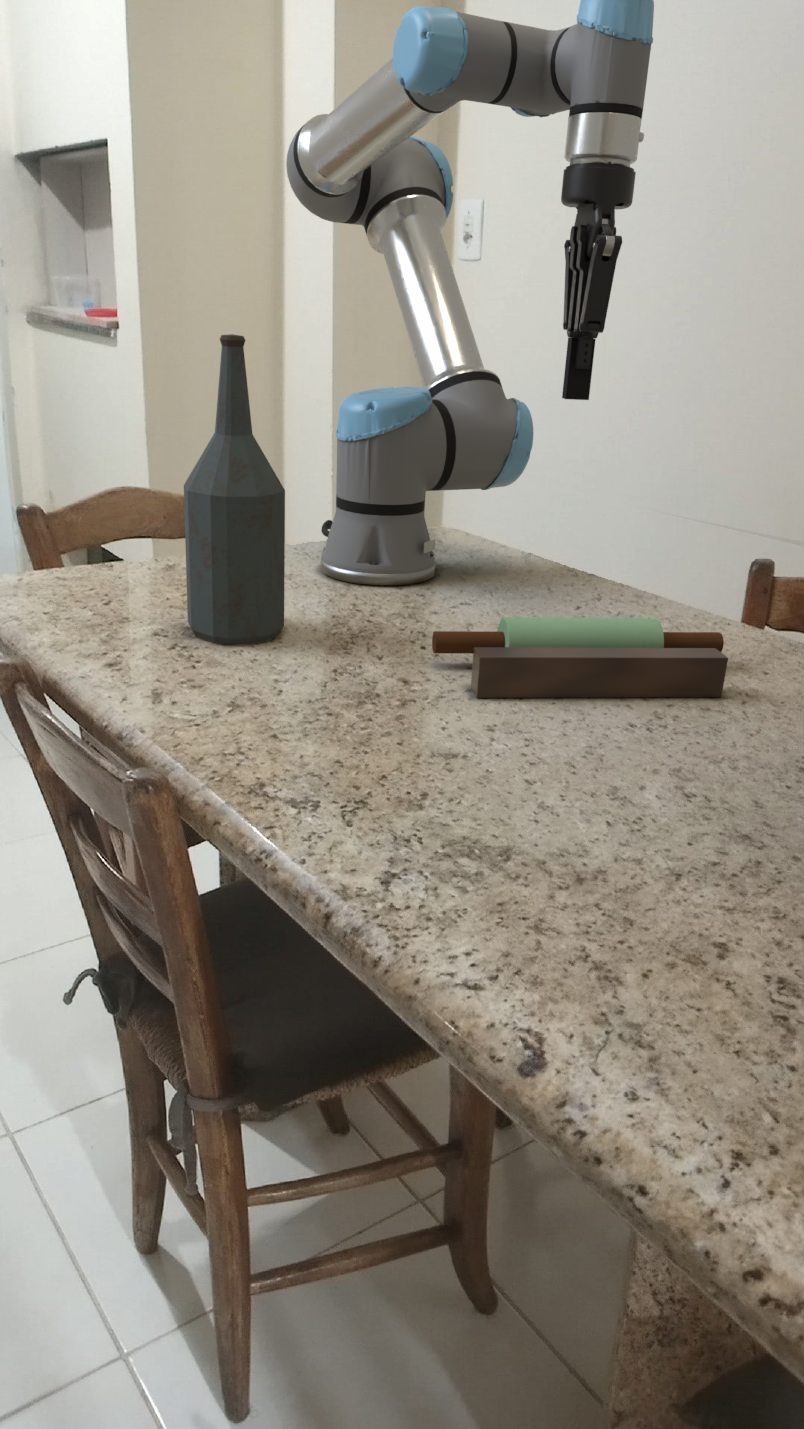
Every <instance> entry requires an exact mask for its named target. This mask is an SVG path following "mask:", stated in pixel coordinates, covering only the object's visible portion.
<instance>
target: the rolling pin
mask: <svg viewBox="0 0 804 1429" xmlns="http://www.w3.org/2000/svg"><path fill="white" fill-rule="evenodd" d="M431 640H432V641H431V648H432V653H433V654H473V651H474V647H526V648H716V649H717V650H718V651H720V652H721V653H722V652H723V649H724V644H725V643H724V642H725V641H724V640H725V639H724V636H723V634H722V633H721V632H719V631H717V632H715V631H711V632H710V631H705V632H704V631H690V632H689V631H664V628H663V626H662V623H661V622H660V620H659V619H658V618H652V617H651V618H650V617H649V618H647V617H645V618H643V617H641V618H639V617H637V618H636V617H634V618H633V617H632V618H631V617H502V618H500V621H499V623H498V628H497V631H490V630H489V631H486V630H485V631H483V630H482V631H478V630H477V631H474V630H473V631H471V630H470V631H465V630H464V631H463V630H461V631H460V630H458V631H457V630H455V631H453V630H452V631H451V630H449V631H448V630H447V631H445V630H444V631H442V630H439V631H438V630H437V631H436V630H434V631H433V632H432V636H431Z"/></svg>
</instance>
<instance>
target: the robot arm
mask: <svg viewBox="0 0 804 1429" xmlns="http://www.w3.org/2000/svg"><path fill="white" fill-rule="evenodd" d="M654 14H655V1H654V0H580V2H579V8H578V13H577V15H576V22H577V23H575V24H573V25H571V26H569V27H564V28H561V29H557V30H555V29H553V30H552V29H551V30H550V29H546V28H545V29H544V28H540V27H536V26H530V25H526V24H519V23H514V22H509V21H503V20H498V19H493V18H489V17H484V16H480V15H474V14H470V13H465V12H460V11H456V10H454V9H452V8H450V7H442V6H439V7H430V6H423V5H422V6H421V5H417V6H415V7H412V8H410V9H409V10H408V11H407V12H406V13H405V14H404V16H403V17H402V19H401V22H400V27H398V28H397V30H396V33H395V35H394V36H395V37H394V42H393V48H392V57H391V58H390V59H388V61H387V62H386V63H385V64H383V65H382V66H381V67H380V68H379V69H378V70H377V71H376V72H375V73H373V74H372V75H371V76H370V77H369V78H368V79H367V80H365V81H364V82H363V83H362V84H361V85H360V86H359V87H358V88H356V89H355V90H354V91H353V92H352V93H351V94H350V95H349V96H347V97H346V98H345V99H344V100H343V101H342V102H341V103H340V104H339V105H338V106H336V107H335V108H334V109H333V110H332V111H331V112H329V113H321V114H318V115H315V116H313V117H311V118H310V119H309V120H308V121H306V123H304V124H303V125H302V126H301V127H300V128H299V129H298V130H297V132H296V133H295V134H294V136H293V138H292V139H291V141H290V143H289V146H288V150H287V153H286V174H287V179H288V182H289V185H290V188H291V190H292V192H293V193H294V196H295V197H296V199H297V200H298V201H299V203H300V204H301V205H302V206H303V207H304V208H305V209H307V211H309V212H310V213H311V214H313V215H314V216H316V217H318V218H319V219H322V220H324V221H329V222H331V223H337V224H348V225H356V226H362V227H363V229H364V231H365V234H366V238H367V241H368V244H369V245H370V247H371V248H372V249H373V250H374V251H375V252H377V253H378V254H381V255H383V257H384V260H385V264H386V267H387V270H388V274H389V277H390V280H391V284H392V287H393V291H394V294H395V297H396V300H397V304H398V307H399V310H400V313H401V317H402V320H403V323H404V324H403V325H404V326H405V331H406V333H407V338H408V340H409V342H410V347H411V350H412V353H413V356H414V359H415V363H416V366H417V370H418V373H419V377H420V379H421V383H422V386H423V387H416V386H401V387H382V388H374V389H368V390H361V391H358V392H354V393H352V394H349V395H348V396H346V397H345V398H344V399H343V400H342V401H341V403H340V406H339V409H338V419H337V426H336V427H337V428H336V431H335V436H336V483H335V484H336V485H335V488H336V490H335V491H336V495H335V513H334V517H333V519H332V520H331V519H328V520H325V521H324V522H323V523H322V526H321V534H322V535H323V536H324V537H326V538H327V539H326V542H325V546H324V547H323V549H322V552H321V556H320V571H321V572H322V573H323V574H325V575H326V576H328V577H330V578H333V579H335V580H339V581H343V582H347V583H353V584H360V585H368V586H369V585H371V586H401V585H403V586H404V585H412V584H418V583H422V582H425V581H428V580H430V579H432V578H433V577H434V576H435V574H436V557H435V554H434V552H433V551H435V549H436V538H434V539H430V534H429V530H428V525H427V522H426V517H425V511H426V510H425V509H426V494H427V492H435V491H439V492H440V491H460V490H462V491H463V490H481V491H488V490H490V489H495V488H504V487H508V486H511V485H512V484H513V483H515V482H516V481H517V480H518V479H519V478H520V477H521V476H522V474H523V473H524V471H525V469H526V467H527V465H528V462H529V460H530V457H531V452H532V449H533V443H534V421H533V416H532V414H531V411H530V409H529V408H528V406H527V404H525V402H523V401H520V400H519V399H517V398H515V397H511V398H507V396H506V394H505V390H504V389H503V385H502V382H501V379H500V377H499V375H497V374H496V372H493V371H491V370H489V369H486V368H485V366H484V363H483V360H482V357H481V354H480V350H479V347H478V344H477V341H476V338H475V335H474V332H473V329H472V325H471V322H470V319H469V316H468V313H467V310H466V306H465V303H464V300H463V297H462V294H461V291H460V288H459V285H458V282H457V278H456V276H455V273H454V272H455V271H454V269H453V266H452V263H451V259H450V257H449V253H448V249H447V247H446V244H445V241H444V238H443V234H442V232H443V230H444V229H445V227H446V224H447V219H448V218H449V215H450V213H451V210H452V206H453V202H454V192H453V191H452V187H453V186H454V177H453V174H452V169H451V166H450V163H449V160H448V158H447V156H446V155H445V153H444V152H443V151H442V150H441V148H440V147H438V146H437V145H436V144H435V143H433V142H430V141H428V140H422V139H419V138H417V137H414V136H413V135H415V134H416V133H417V132H418V131H420V130H421V129H423V128H424V127H426V126H427V125H428V124H430V123H431V122H432V121H434V120H435V119H436V118H438V117H439V116H440V115H442V114H443V113H445V112H447V110H449V109H450V108H452V107H454V106H455V105H456V104H458V103H459V102H461V101H468V102H475V103H481V104H489V105H495V106H501V107H506V108H507V107H508V108H510V109H511V110H512V111H513V112H515V114H517V115H519V116H522V117H525V118H532V117H533V118H534V117H539V118H546V117H549V116H551V115H555V114H558V113H562V112H566V111H569V112H568V118H567V119H568V120H567V128H566V138H565V147H564V148H565V149H564V159H565V161H567V162H568V163H569V165H568V166H566V167H565V169H564V170H563V175H562V186H561V196H560V200H561V204H562V206H565V207H568V208H575V209H576V212H577V213H576V215H575V221H574V224H573V225H572V226H571V229H570V234H569V239H566V240H565V242H564V245H563V247H564V260H565V267H564V268H565V269H564V270H565V271H564V294H563V295H564V297H563V321H562V328H563V330H564V331H566V335H567V344H566V346H567V348H566V355H565V364H564V365H565V366H564V376H563V384H562V385H563V386H562V396H561V398H562V399H564V400H575V401H577V400H578V401H589V400H590V392H591V382H592V374H593V365H594V356H595V348H596V340H597V338H598V336H599V334H600V333H601V334H602V333H603V332H604V330H605V325H606V320H607V315H608V314H607V313H608V310H609V309H608V308H609V304H610V298H611V292H612V287H613V282H614V276H615V272H616V266H617V260H618V257H619V255H620V251H621V247H622V244H623V237H622V235H617V227H616V226H615V225H616V215H615V214H616V210H624V209H628V208H630V207H631V206H632V204H633V201H634V200H633V199H634V191H635V184H636V175H637V174H636V173H637V172H636V171H635V168H633V167H631V165H632V164H634V163H635V162H636V161H637V160H638V152H639V145H640V143H642V142H643V141H644V138H645V134H644V132H641V127H642V120H643V119H642V118H643V111H644V104H645V97H646V90H647V83H648V82H647V81H648V74H649V66H650V59H651V58H650V57H651V52H652V51H651V49H652V44H653V43H654V37H653V29H654V26H653V25H654Z"/></svg>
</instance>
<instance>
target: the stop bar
mask: <svg viewBox="0 0 804 1429" xmlns="http://www.w3.org/2000/svg"><path fill="white" fill-rule="evenodd" d="M728 662H729V657H727V656H726V655H725V654H724V653H722V651H721V652H720V651H718V650H717V649H716V648H526V647H474V651H473V653H472V665H471V679H470V689H471V690H472V692H473V693H474V696H475V697H476V699H543V698H545V699H547V698H549V699H550V698H551V699H552V698H553V699H557V698H558V699H559V698H560V699H561V698H563V699H564V698H565V699H567V698H570V699H571V698H572V699H573V698H574V699H575V698H581V699H582V698H583V699H585V698H589V699H590V698H592V699H593V698H594V699H595V698H596V699H597V698H722V696H723V690H724V684H725V679H726V672H727V668H728Z"/></svg>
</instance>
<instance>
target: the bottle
mask: <svg viewBox="0 0 804 1429" xmlns="http://www.w3.org/2000/svg"><path fill="white" fill-rule="evenodd" d="M219 342H220V345H221V351H220V352H221V353H220V362H219V364H220V365H219V374H218V375H219V376H218V377H219V378H218V389H217V400H216V413H215V424H214V433H213V435H212V436H211V437H210V440H209V441H208V443H207V445H206V446H205V448H204V450H203V452H202V453H201V455H200V457H199V458H198V460H197V462H196V463H195V465H194V467H193V468H192V470H191V472H190V473H189V475H188V477H187V479H186V480H185V482H184V484H183V506H184V507H183V508H184V509H183V510H184V538H185V539H184V540H185V541H184V542H185V544H184V545H185V571H186V572H185V574H186V607H187V622H188V624H189V627H190V630H191V631H192V632H193V634H194V637H195V638H196V639H197V638H198V639H199V640H204V641H207V642H210V643H214V644H217V645H219V644H220V645H226V646H227V645H229V646H231V645H251V644H260V643H263V642H264V643H265V642H268V641H270V640H272V639H273V638H275V637H276V636H278V635H279V634H280V633H281V632H282V630H283V628H284V626H285V565H286V564H285V563H286V562H285V556H286V555H285V554H286V551H285V550H286V549H285V548H286V545H285V542H286V539H285V538H286V531H285V530H286V490H285V488H284V486H283V483H282V482H281V481H280V479H279V477H278V476H277V474H276V472H275V471H274V468H273V467H272V465H271V463H270V462H269V460H268V459H267V456H266V455H265V454H264V452H263V450H262V448H261V446H260V445H259V442H258V441H257V440H256V438H255V436H254V434H253V426H252V417H251V416H252V415H251V408H250V399H249V397H250V396H249V388H248V378H247V368H246V360H245V358H246V357H245V350H244V349H245V348H244V346H245V344H246V338H245V336H243V335H239V334H221V335H220V337H219Z"/></svg>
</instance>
